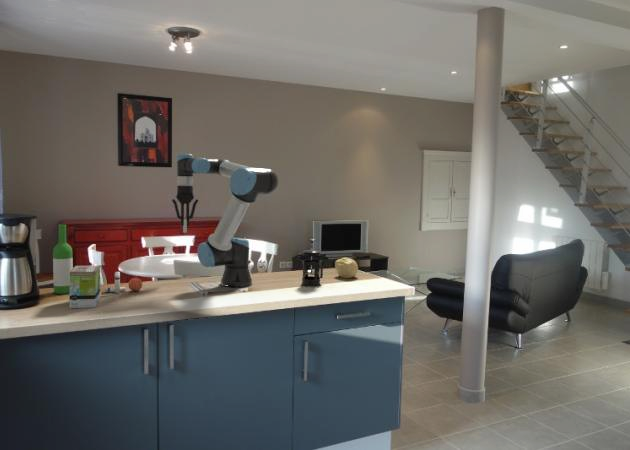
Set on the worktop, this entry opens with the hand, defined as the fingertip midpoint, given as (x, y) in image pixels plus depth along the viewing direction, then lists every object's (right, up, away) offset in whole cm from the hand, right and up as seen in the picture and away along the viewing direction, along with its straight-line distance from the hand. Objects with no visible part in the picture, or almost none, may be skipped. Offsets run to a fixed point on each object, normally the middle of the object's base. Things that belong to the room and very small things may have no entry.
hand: (184, 232), depth 258 cm
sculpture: (+82, -25, +23) cm, 89 cm away
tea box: (-28, -29, -48) cm, 63 cm away
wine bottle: (-46, -26, -30) cm, 61 cm away
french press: (+64, -26, +1) cm, 69 cm away
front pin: (-21, -25, -25) cm, 41 cm away
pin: (-23, -27, -29) cm, 45 cm away
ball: (-16, -23, -24) cm, 37 cm away
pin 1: (-24, -26, -24) cm, 43 cm away
